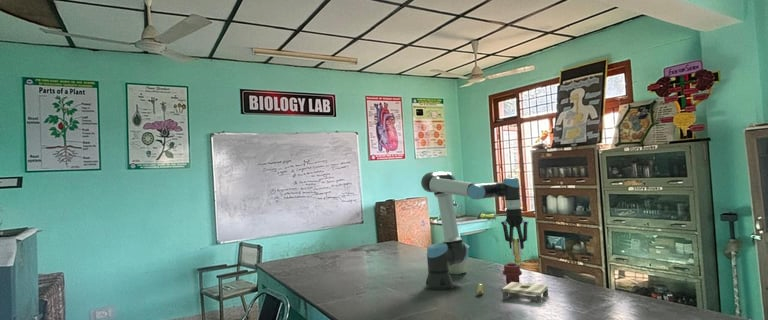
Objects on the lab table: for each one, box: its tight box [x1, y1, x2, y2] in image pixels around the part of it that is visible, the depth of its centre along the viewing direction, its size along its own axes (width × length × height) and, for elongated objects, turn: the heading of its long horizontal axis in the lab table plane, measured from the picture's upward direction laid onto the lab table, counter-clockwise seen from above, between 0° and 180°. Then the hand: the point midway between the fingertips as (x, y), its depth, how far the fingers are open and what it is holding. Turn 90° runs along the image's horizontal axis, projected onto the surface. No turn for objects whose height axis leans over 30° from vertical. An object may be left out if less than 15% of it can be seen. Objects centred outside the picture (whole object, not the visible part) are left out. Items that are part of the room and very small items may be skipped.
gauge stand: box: [501, 282, 549, 304], centre depth 211 cm, size 18×14×5 cm
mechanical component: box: [502, 262, 523, 286], centre depth 232 cm, size 12×10×10 cm
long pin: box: [513, 237, 522, 264], centre depth 214 cm, size 3×3×12 cm
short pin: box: [476, 283, 484, 296], centre depth 220 cm, size 3×3×5 cm
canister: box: [449, 243, 470, 275], centre depth 270 cm, size 18×18×21 cm
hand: (517, 255), depth 214 cm, fingers closed on long pin, 3 cm apart
